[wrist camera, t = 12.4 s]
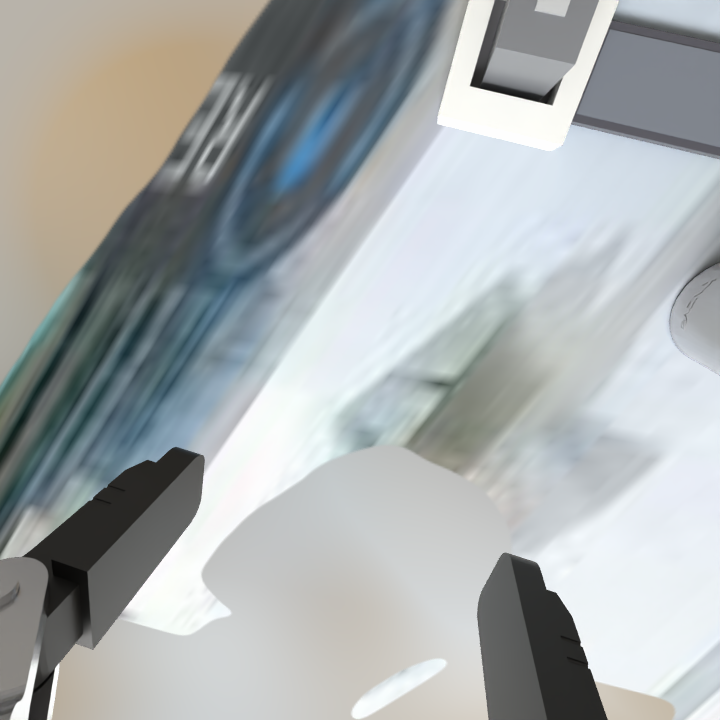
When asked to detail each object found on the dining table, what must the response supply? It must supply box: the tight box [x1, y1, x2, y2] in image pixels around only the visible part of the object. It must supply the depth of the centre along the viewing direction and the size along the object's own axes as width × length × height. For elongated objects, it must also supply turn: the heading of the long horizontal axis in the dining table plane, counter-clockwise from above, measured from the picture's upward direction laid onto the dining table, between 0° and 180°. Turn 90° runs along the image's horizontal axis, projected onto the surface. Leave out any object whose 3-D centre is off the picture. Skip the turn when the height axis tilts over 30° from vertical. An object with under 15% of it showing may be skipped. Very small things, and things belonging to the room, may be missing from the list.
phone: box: [571, 20, 720, 159], centre depth 27 cm, size 12×6×1 cm, turn 77°
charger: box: [480, 0, 599, 102], centre depth 24 cm, size 4×4×8 cm
